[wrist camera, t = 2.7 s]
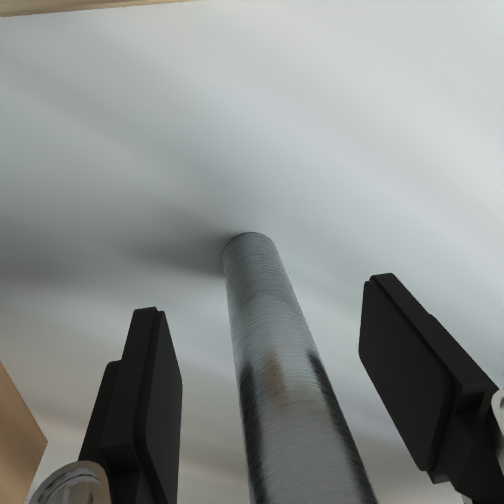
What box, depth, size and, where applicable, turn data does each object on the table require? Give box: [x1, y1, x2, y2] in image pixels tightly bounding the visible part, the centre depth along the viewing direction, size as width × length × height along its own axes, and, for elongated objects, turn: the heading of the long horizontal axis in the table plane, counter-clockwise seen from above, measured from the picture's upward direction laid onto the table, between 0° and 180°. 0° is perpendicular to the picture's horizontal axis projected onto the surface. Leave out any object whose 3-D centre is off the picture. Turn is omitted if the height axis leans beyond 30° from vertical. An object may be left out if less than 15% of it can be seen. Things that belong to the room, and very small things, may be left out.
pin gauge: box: [223, 233, 379, 504], centre depth 9 cm, size 2×2×12 cm
